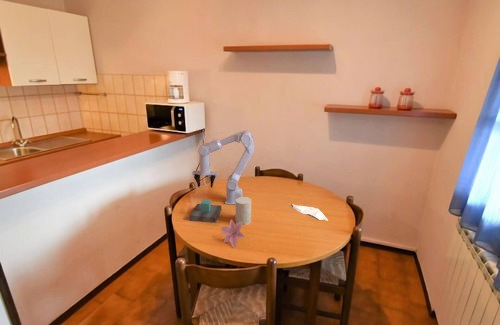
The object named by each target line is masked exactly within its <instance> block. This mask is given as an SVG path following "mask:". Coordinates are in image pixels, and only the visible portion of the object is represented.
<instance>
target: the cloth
mask: <svg viewBox="0 0 500 325" xmlns="http://www.w3.org/2000/svg"><path fill="white" fill-rule="evenodd" d="M290 206H292V209H293V210H296V211H297V212H299V213H301V214H303V215H310V216H312V217H314V218H315V219H317V220H319V221H322V220H325V221H327V222H328V221H329V220H328V218H327V217H326V216H325V214H324V213H323V212H322V211H321V210H320V209H319V208H316V207H313V206H312V207H311V206H306V205H297V204H296V205H295V204H293V203H290Z"/></svg>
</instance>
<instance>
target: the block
mask: <svg viewBox="0 0 500 325" xmlns="http://www.w3.org/2000/svg"><path fill="white" fill-rule="evenodd" d="M199 204H200V205H201V212H209V211H210V210H211V205H212V200H210V199H202V201H201V202H200V203H199Z"/></svg>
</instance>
